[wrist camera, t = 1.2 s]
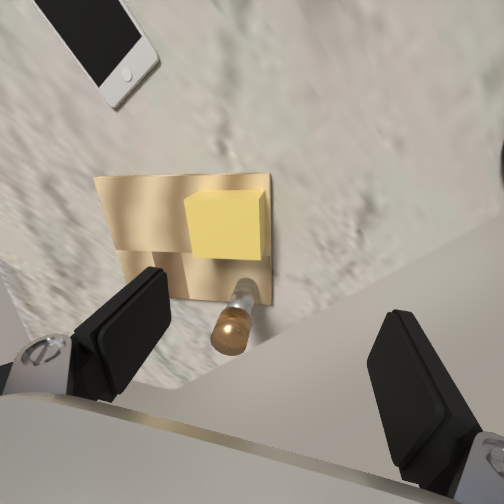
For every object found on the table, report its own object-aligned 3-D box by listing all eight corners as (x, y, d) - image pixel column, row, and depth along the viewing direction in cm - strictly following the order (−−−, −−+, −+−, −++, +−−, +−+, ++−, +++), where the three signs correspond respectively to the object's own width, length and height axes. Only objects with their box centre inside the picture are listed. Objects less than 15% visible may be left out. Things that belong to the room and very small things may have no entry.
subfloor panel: (270, 172, 25) (269, 174, 24) (271, 299, 32) (270, 305, 31) (100, 176, 28) (93, 178, 27) (135, 289, 35) (130, 294, 34)
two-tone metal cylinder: (259, 276, 29) (245, 330, 21) (260, 299, 31) (247, 357, 23) (232, 274, 30) (208, 326, 22) (234, 297, 31) (212, 353, 23)
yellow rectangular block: (264, 189, 24) (258, 199, 21) (265, 245, 27) (260, 261, 24) (199, 190, 26) (183, 199, 22) (206, 243, 28) (193, 258, 25)
